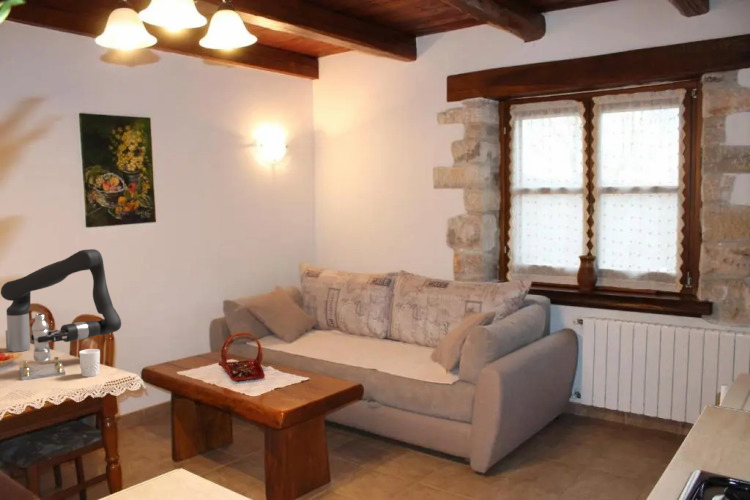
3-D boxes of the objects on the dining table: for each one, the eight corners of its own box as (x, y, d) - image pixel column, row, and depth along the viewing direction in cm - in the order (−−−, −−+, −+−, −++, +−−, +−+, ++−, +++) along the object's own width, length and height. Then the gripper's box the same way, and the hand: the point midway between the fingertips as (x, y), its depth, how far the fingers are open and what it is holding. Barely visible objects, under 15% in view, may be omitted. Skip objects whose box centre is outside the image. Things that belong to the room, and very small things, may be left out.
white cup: (91, 378, 268) (91, 354, 267) (75, 376, 270) (74, 352, 269) (104, 372, 275) (104, 349, 274) (88, 371, 278) (88, 348, 276)
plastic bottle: (36, 364, 270) (33, 316, 267) (31, 361, 275) (29, 314, 273) (53, 361, 274) (50, 314, 272) (48, 358, 279) (45, 312, 277)
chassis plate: (19, 370, 277) (19, 360, 277) (61, 365, 286) (60, 355, 285) (21, 380, 264) (21, 370, 263) (65, 374, 272) (65, 364, 272)
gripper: (66, 320, 288) (26, 327, 275) (82, 325, 279) (42, 332, 266) (67, 337, 289) (27, 345, 276) (83, 342, 280) (43, 350, 267)
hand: (34, 339), depth 271 cm, fingers closed on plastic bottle, 5 cm apart
